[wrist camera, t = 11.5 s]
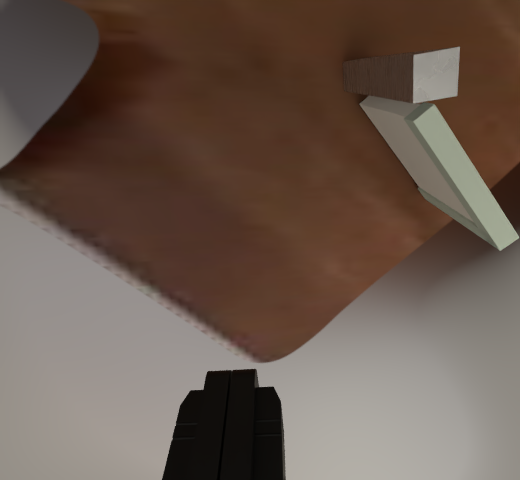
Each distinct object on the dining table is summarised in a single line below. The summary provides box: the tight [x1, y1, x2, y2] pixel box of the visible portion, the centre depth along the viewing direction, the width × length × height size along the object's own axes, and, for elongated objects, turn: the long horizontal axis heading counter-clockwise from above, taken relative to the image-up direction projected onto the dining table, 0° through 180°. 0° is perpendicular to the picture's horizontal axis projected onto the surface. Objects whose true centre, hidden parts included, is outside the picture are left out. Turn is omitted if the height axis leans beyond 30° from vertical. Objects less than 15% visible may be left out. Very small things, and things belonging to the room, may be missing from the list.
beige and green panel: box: [359, 96, 519, 251], centre depth 32 cm, size 13×2×13 cm, turn 41°
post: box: [343, 47, 460, 103], centre depth 29 cm, size 3×3×16 cm
